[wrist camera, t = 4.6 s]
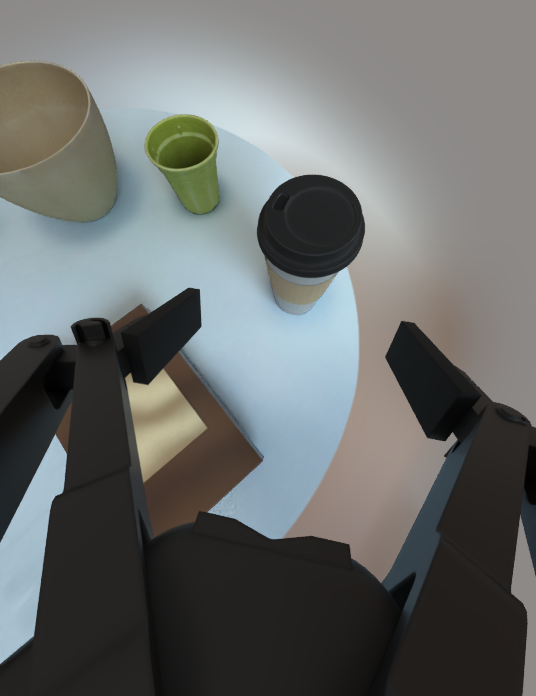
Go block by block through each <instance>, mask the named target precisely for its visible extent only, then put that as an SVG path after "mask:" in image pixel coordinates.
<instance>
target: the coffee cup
mask: <svg viewBox="0 0 536 696" xmlns="http://www.w3.org/2000/svg"><path fill="white" fill-rule="evenodd" d="M364 234H365V222H364V217H363V214H362V209H361V205H360V202H359V200H358V198H357V197H356V195H355V194H354V193H353V191H352V190H351V189H350V188H348V187H347V186H346V185H345V184H343V183H342V182H340V181H338V180H336V179H333V178H330V177H327V176H322V175H303V176H299V177H295V178H292V179H290V180H288V181H286V182H284V183H283V184H281V185H280V186H279V187H278V188H277V189H276V190H275V191H274V192H273V193H272V195H271V196H270V198H269V199H268V201H267V202H266V203H265V205H264V206H263V208H262V210H261V213H260V216H259V220H258V227H257V238H258V242H259V246H260V248H261V250H262V252H263V254H264V255H265V260H266V265H267V269H268V273H269V278H270V282H271V286H272V289H273V290H274V294H275V299H276V302H277V304H278V306H279V307H280V308H281V309H282V310H283V311H285V312H287V313H290V314H294V315H301V314H305V313H306V312H308V311H309V310H310V309H311V308H312V307H313V306H314V304H315V303H316V301H317V300H318V299H319V298H320V297H321V296H322V295H323V293H324V292H325V290H326V289H327V288H328V286H329V285H330V283H331V282H332V280H333V279H334V277H335V276H336V274H337V273H338V272H339V271H341V270H342V269H344V268H345V267H347V266H348V265H349V264H350V263H351V262H352V261H353V260H354V259H355V257H356V256H357V254H358V253H359V251H360V249H361V246H362V242H363V238H364Z"/></svg>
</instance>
